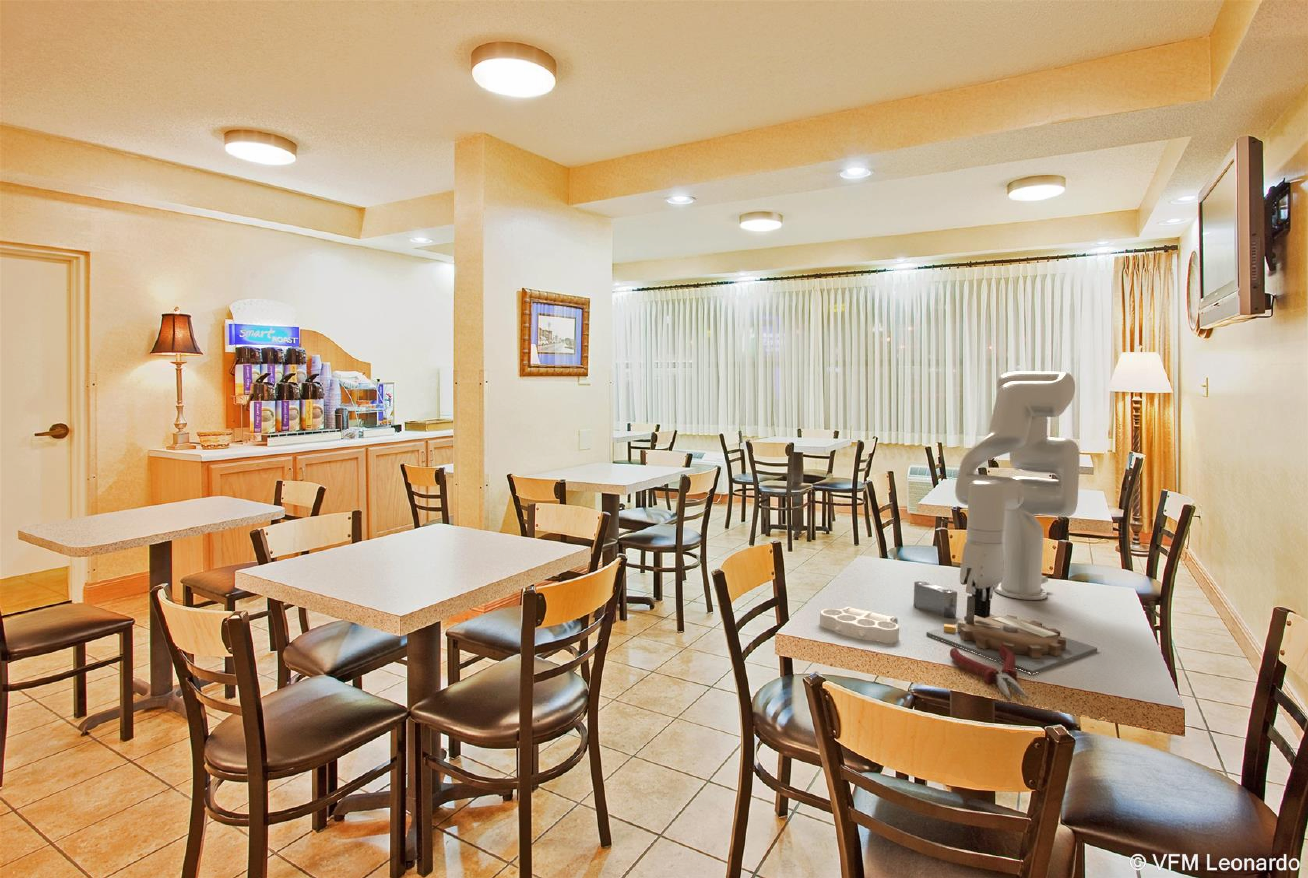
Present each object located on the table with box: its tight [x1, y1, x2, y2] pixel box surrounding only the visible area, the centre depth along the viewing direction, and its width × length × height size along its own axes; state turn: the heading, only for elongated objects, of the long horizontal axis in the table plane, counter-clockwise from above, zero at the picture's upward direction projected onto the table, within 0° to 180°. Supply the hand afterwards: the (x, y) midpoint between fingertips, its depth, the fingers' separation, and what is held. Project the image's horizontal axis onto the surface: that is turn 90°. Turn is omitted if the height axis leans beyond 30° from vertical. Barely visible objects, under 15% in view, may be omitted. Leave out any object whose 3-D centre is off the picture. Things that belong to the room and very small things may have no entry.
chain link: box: [912, 580, 958, 619], centre depth 171 cm, size 3×11×6 cm, turn 31°
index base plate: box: [925, 614, 1098, 674], centre depth 150 cm, size 24×24×2 cm
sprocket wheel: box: [957, 595, 1067, 658], centre depth 150 cm, size 21×21×8 cm
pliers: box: [949, 646, 1029, 700], centre depth 131 cm, size 12×20×3 cm, turn 174°
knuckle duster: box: [819, 606, 900, 644], centre depth 157 cm, size 3×18×15 cm
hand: (981, 615), depth 155 cm, fingers closed
